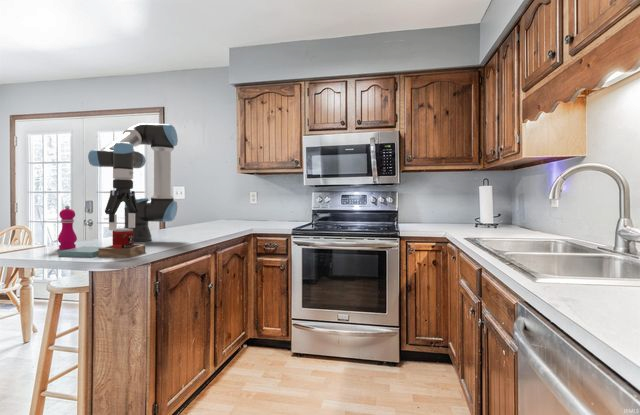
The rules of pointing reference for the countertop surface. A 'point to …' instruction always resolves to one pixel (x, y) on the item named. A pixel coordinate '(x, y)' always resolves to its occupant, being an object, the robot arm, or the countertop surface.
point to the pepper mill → (67, 229)
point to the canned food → (123, 238)
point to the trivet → (81, 252)
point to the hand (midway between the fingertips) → (122, 229)
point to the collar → (121, 251)
